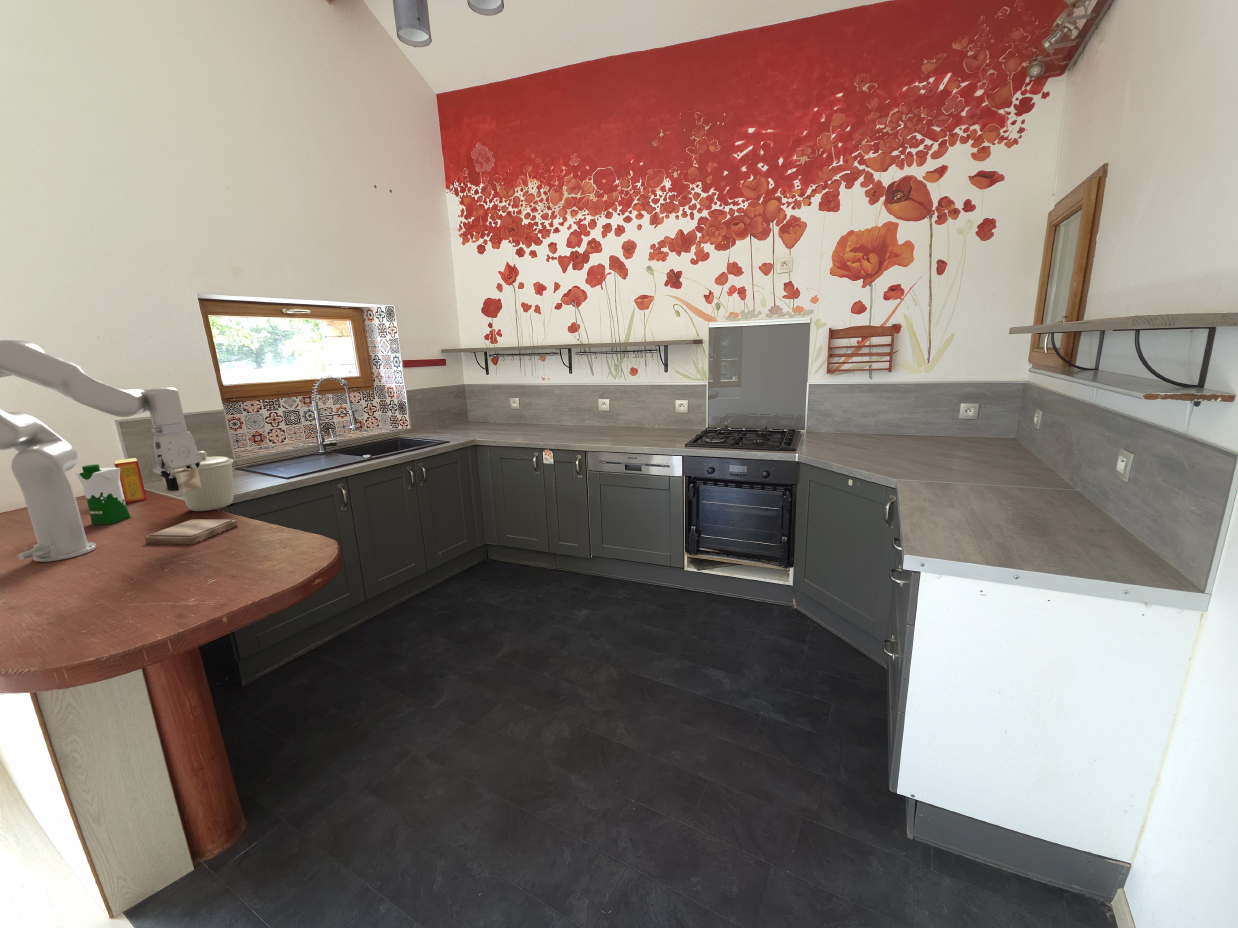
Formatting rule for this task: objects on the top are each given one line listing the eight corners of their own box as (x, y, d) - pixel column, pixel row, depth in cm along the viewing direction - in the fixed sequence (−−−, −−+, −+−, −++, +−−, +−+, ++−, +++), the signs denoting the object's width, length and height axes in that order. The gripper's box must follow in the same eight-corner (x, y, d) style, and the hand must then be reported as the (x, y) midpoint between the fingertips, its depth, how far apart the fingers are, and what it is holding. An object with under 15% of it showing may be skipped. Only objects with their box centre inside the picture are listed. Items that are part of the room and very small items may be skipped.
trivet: (193, 544, 156) (191, 536, 156) (146, 543, 159) (144, 535, 158) (237, 525, 172) (236, 518, 171) (194, 525, 174) (192, 518, 173)
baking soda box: (122, 499, 209) (112, 459, 206) (144, 495, 214) (135, 456, 210) (124, 503, 203) (114, 463, 199) (146, 499, 207) (137, 459, 204)
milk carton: (86, 525, 178) (70, 467, 173) (113, 516, 186) (99, 461, 182) (109, 525, 177) (94, 467, 172) (136, 516, 185) (122, 461, 181)
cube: (184, 492, 159) (179, 473, 157) (166, 492, 160) (161, 473, 158) (201, 487, 165) (197, 468, 163) (184, 487, 165) (180, 468, 164)
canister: (209, 516, 183) (196, 456, 179) (167, 514, 187) (153, 456, 182) (253, 500, 201) (243, 446, 196) (214, 499, 204) (203, 446, 200)
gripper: (153, 434, 149) (167, 495, 153) (207, 424, 166) (218, 480, 170) (130, 434, 150) (145, 495, 154) (185, 425, 167) (198, 480, 171)
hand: (183, 486), depth 162 cm, fingers closed on cube, 6 cm apart
